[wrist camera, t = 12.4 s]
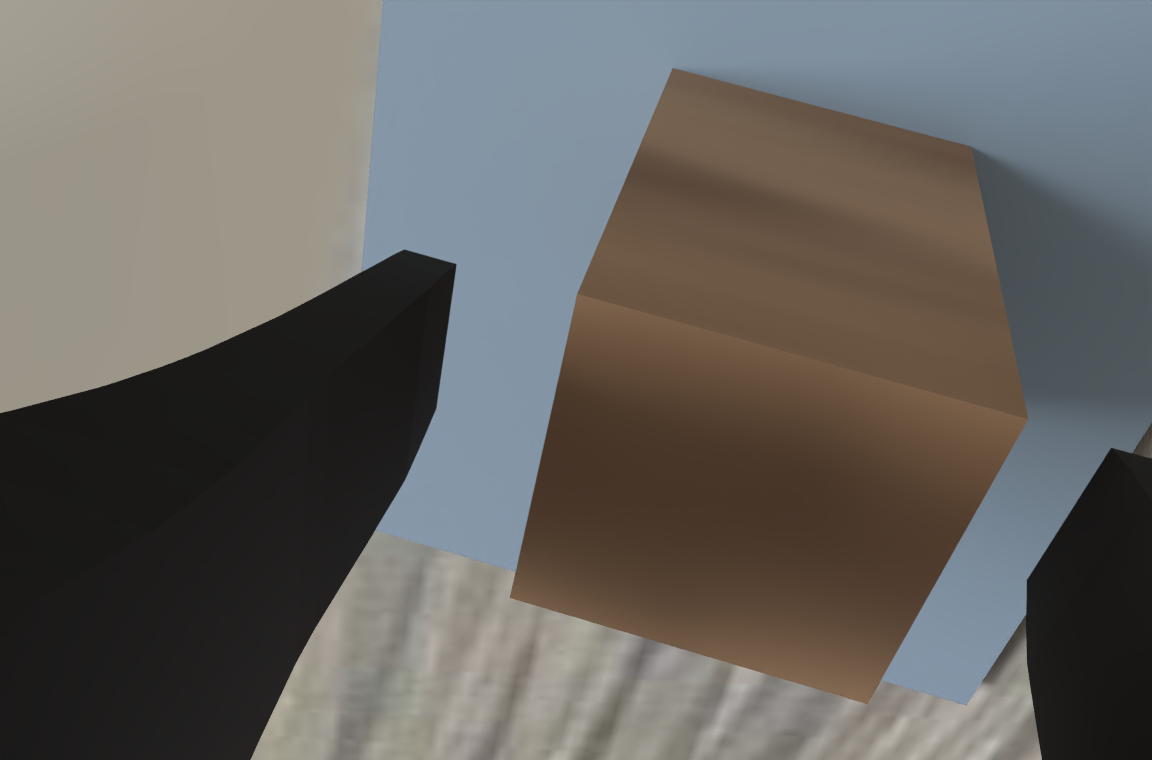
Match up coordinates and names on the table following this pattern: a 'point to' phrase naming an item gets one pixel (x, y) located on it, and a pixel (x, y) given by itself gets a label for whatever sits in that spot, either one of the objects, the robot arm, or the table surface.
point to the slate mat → (814, 76)
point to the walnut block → (775, 390)
